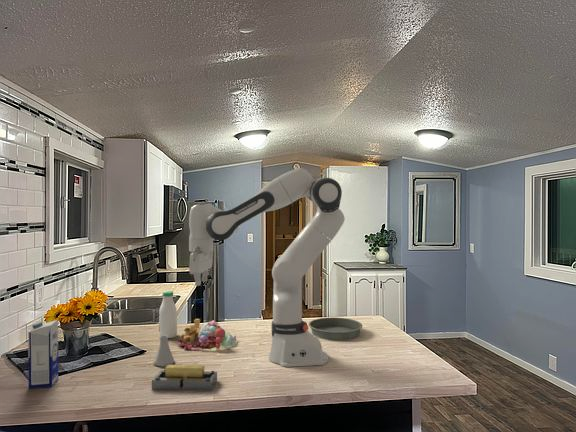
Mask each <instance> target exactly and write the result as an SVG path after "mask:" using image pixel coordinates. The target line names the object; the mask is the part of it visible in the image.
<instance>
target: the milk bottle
mask: <svg viewBox="0 0 576 432" xmlns="http://www.w3.org/2000/svg"><path fill="white" fill-rule="evenodd" d="M173 297H174V292H173V291H171V290H169V291H163V292H162V303H161V304H160V306H159V313H158V320H159V321H158V334H159V335H158V338H159V337H161V336H169V338H168V339H172V338H176V337H177V336H178V313H177V306H176V304H175V302H174V298H173Z"/></svg>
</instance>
